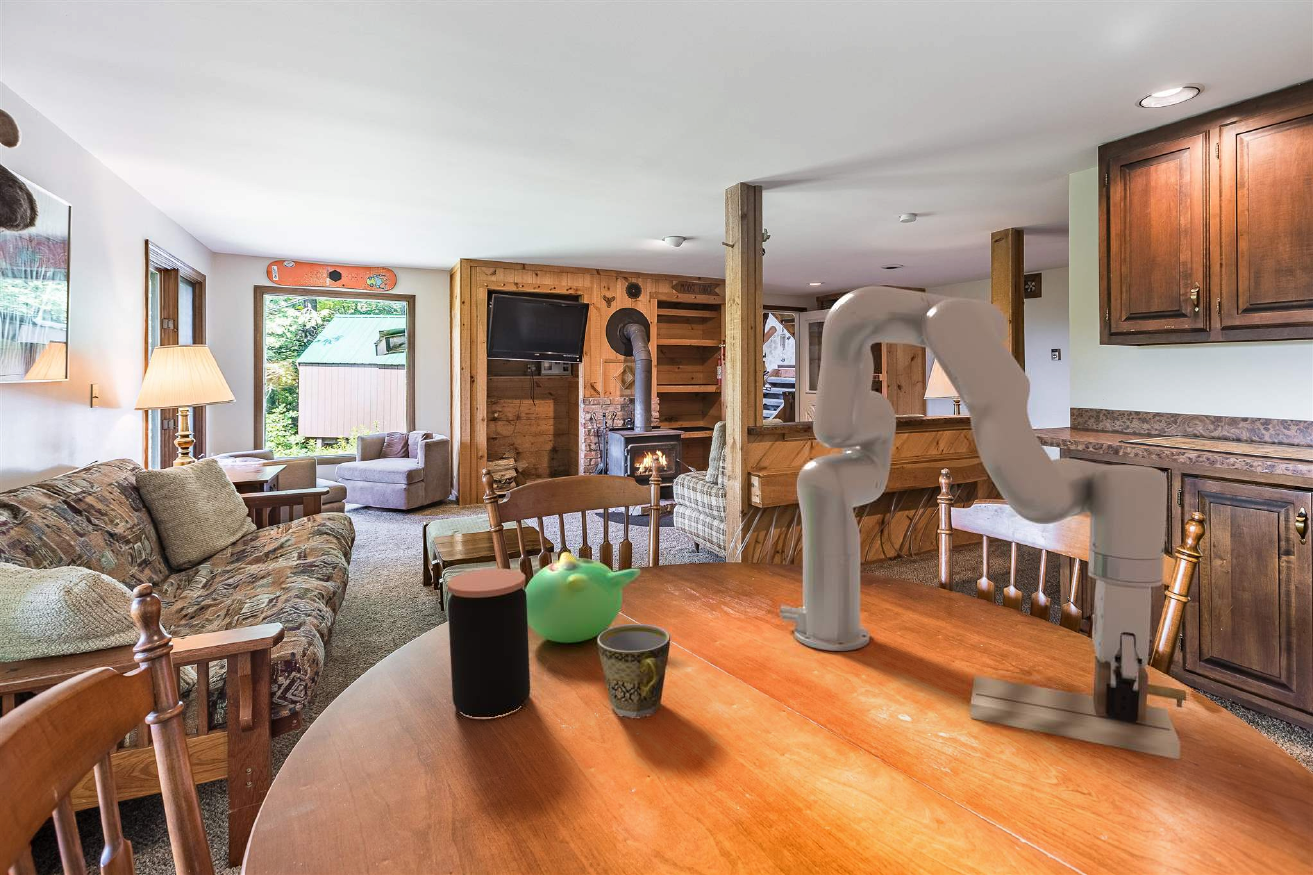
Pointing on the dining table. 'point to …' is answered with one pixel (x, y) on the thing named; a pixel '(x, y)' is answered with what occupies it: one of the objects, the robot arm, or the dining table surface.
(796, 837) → the dining table surface
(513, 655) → the coffee jar
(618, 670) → the ceramic cup
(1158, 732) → the board
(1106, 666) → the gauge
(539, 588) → the plump green bird figurine
